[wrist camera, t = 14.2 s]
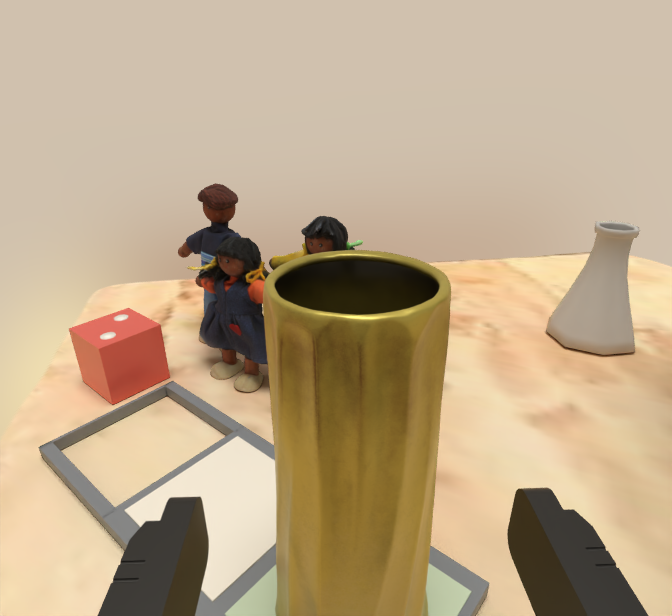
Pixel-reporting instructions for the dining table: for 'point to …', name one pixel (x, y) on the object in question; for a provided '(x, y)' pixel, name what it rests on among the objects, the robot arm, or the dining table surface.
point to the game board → (232, 514)
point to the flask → (599, 297)
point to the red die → (120, 354)
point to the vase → (355, 429)
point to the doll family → (243, 283)
